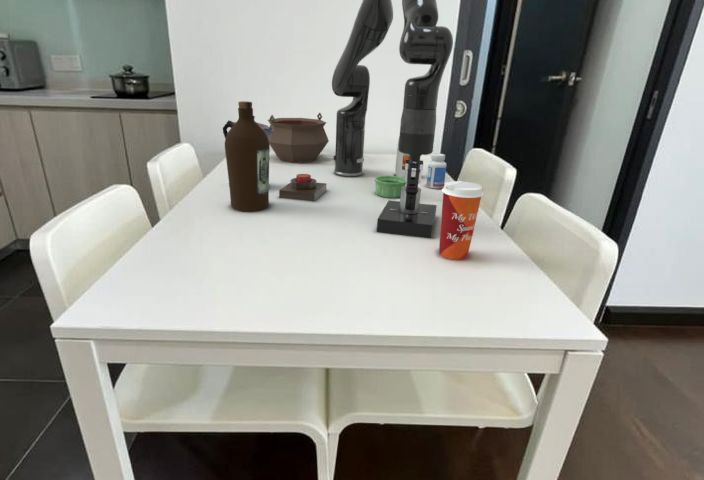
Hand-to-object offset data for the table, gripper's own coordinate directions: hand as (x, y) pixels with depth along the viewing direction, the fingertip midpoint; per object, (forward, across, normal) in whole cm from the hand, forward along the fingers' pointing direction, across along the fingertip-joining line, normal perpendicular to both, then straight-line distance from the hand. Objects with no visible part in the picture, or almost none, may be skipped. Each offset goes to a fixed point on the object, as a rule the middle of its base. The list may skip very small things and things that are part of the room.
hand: (410, 206), depth 107 cm
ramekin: (+4, +26, +6) cm, 27 cm away
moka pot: (+4, +22, +46) cm, 52 cm away
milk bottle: (+4, +50, +2) cm, 51 cm away
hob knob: (+1, 0, 0) cm, 1 cm away
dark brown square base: (+4, +19, +30) cm, 35 cm away
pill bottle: (+5, +38, -7) cm, 39 cm away
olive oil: (+4, +4, +40) cm, 40 cm away
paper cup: (+5, -17, -9) cm, 20 cm away
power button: (+1, +19, +30) cm, 35 cm away
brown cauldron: (+4, +67, +43) cm, 80 cm away
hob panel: (+4, 0, 0) cm, 4 cm away
